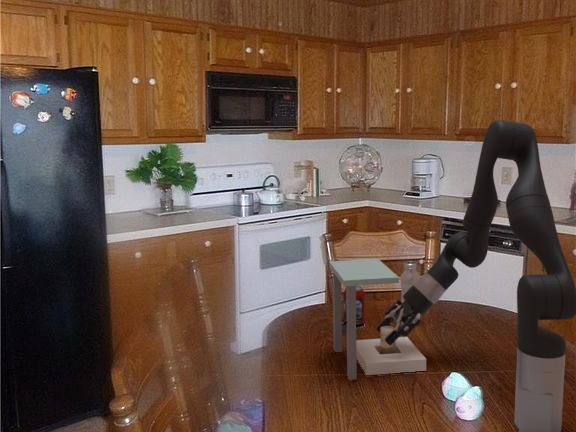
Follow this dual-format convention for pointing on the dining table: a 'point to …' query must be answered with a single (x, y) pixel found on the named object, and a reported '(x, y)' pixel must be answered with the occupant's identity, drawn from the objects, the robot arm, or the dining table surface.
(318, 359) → the dining table surface
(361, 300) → the beverage can
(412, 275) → the plastic bottle
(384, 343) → the peg
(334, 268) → the two-legged shelf table
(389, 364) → the socket
